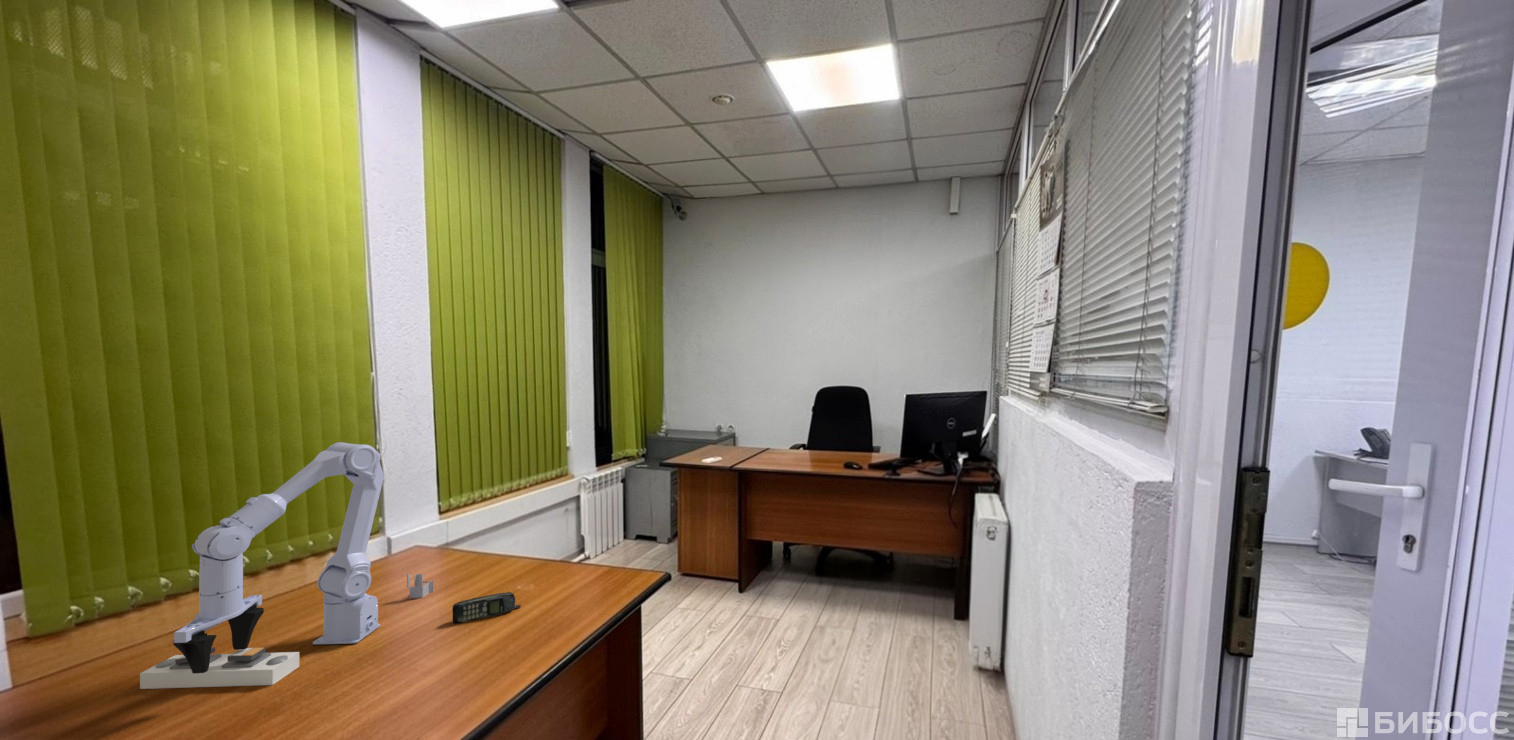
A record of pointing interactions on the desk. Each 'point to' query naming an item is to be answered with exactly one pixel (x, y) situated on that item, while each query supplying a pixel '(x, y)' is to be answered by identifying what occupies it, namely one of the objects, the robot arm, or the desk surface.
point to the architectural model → (419, 586)
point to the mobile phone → (483, 607)
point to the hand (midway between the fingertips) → (221, 660)
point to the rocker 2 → (246, 654)
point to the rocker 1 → (184, 660)
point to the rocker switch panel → (221, 672)
